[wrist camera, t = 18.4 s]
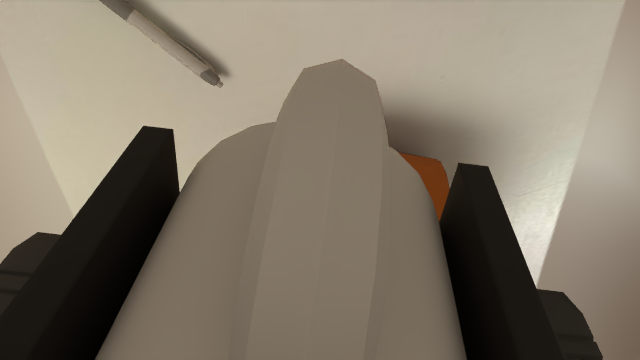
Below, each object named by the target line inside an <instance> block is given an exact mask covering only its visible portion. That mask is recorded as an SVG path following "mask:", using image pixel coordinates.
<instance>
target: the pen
mask: <svg viewBox="0 0 640 360" xmlns="http://www.w3.org/2000/svg"><path fill="white" fill-rule="evenodd" d="M99 1H101V2H102V3H103V4H105V5H106V6H107V7H109V8H110V9H111V10H112V11H114V12H115V13H116V14H118V15H119V16H120V17H122V18H123V19H124V20H125V21H127V22H128V23H130V24H131V25H133V26H134V27H136V28H137V29H138V30H140V31H141V32H142V33H143V34H145V35H146V36H147V37H149V38H150V39H151V40H153V41H154V42H155V43H156V44H158V45H159V46H160V47H162V48H163V49H164V50H166V51H167V52H168V53H169V54H171V55H172V56H173V57H175V58H176V59H177V60H179V61H180V62H181V63H182V64H184V65H185V66H186V67H188V68H189V69H190V70H192V71H193V72H194V73H196V74H197V75H198V76H199V77H201V78H202V79H203V80H205V81H206V82H208V83H210V84H211V85H214V86H215V85H217V86H218V87H220V88H221V87H222V86H223V83H222V82H221V81H220V78H219V77H218V75H217V74H216V71H215V70H214V69H213V67H212V66H211V65H210V64H209V63H208V62H207V61H206V60H205V59H203V58H202V57H201V56H200V55H198V54H197V53H196V52H194V51H193V50H192V49H190V48H189V47H188V46H186V45H185V44H183V43H182V42H180V41H179V40H177V39H175V38H174V37H172V36H170V35H168V34H166V33H164V32H163V31H161V30H160V29H159V28H157V27H156V26H155V25H154V24H152V23H151V22H150V21H149V20H147V19H146V18H145V17H143V16H142V15H141V14H140V13H139V12H138V11H137V10H135V9H134V8H133V7H132V6H130V5H129V4H128V3H127V2H125V1H124V0H99ZM175 41H176V42H175ZM178 43H179V44H180V45H179V44H178ZM181 45H182V46H183V47H185V48H186V49H187V50H189V51H190V52H191V53H192V54H194V55H195V56H196V57H197V58H198V59H197V58H196V57H195V56H193V55H192V54H191V53H189V52H188V51H187V50H186V49H184V48H183V47H182V46H181Z"/></svg>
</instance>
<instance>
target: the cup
mask: <svg viewBox="0 0 640 360" xmlns="http://www.w3.org/2000/svg"><path fill="white" fill-rule="evenodd" d="M95 360H467V357H466V352H465V347H464V343H463V338H462V333H461V328H460V323H459V318H458V313H457V308H456V304H455V299H454V294H453V289H452V284H451V279H450V274H449V270H448V265H447V260H446V255H445V250H444V245H443V240H442V236H441V231H440V226H439V221H438V216H437V213H436V210H435V207H434V204H433V200H432V198H431V196H430V194H429V192H428V190H427V189H426V187H425V185H424V183H423V181H422V179H421V177H420V175H419V173H418V172H417V171H416V170H415V169H414V168H413V167H412V166H411V165H410V164H409V163H408V162H407V161H406V160H405V159H404V158H403V157H402V156H401V155H400V154H399V153H398V152H397V151H396V150H395V149H393V148H391V147H389V144H388V134H387V129H386V124H385V119H384V114H383V109H382V104H381V99H380V95H379V91H378V88H377V84H376V81H375V80H374V79H372V78H371V77H369V76H368V75H366V74H365V73H363V72H362V71H360V70H358V69H357V68H355V67H354V66H352V65H351V64H349V63H348V62H346V61H345V60H343V59H341V60H336V61H332V62H328V63H324V64H320V65H316V66H312V67H308V68H304V69H303V71H302V73H301V74H300V76H299V78H298V79H297V81H296V82H295V84H294V86H293V87H292V89H291V91H290V92H289V94H288V96H287V97H286V99H285V101H284V103H283V105H282V108H281V110H280V113H279V115H278V118H277V122H272V123H266V124H261V125H256V126H251V127H249V128H247V129H245V130H243V131H241V132H239V133H237V134H235V135H233V136H230V137H228V138H226V139H224V140H222V141H220V142H219V143H218V144H217V145H216V146H215V147H214V148H213V149H212V150H211V151H210V152H208V153H207V154H206V155H205V156H204V157H203V158H202V159H201V160H200V161H199V162H198V163H197V165H196V166H195V168H194V169H193V171H192V172H191V174H190V175H189V177H188V179H187V181H186V183H185V185H184V186H183V188H182V190H181V192H180V194H179V196H178V198H177V200H176V201H175V203H174V205H173V207H172V209H171V211H170V213H169V215H168V217H167V219H166V221H165V223H164V225H163V227H162V229H161V231H160V233H159V235H158V237H157V239H156V241H155V243H154V245H153V246H152V248H151V250H150V252H149V254H148V256H147V258H146V260H145V262H144V264H143V266H142V268H141V270H140V272H139V274H138V276H137V278H136V280H135V282H134V284H133V286H132V288H131V290H130V292H129V294H128V295H127V297H126V299H125V301H124V303H123V305H122V307H121V309H120V311H119V313H118V315H117V317H116V319H115V321H114V323H113V325H112V327H111V329H110V331H109V333H108V335H107V337H106V339H105V341H104V342H103V344H102V346H101V348H100V350H99V352H98V354H97V356H96V358H95Z"/></svg>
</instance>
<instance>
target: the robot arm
mask: <svg viewBox="0 0 640 360" xmlns="http://www.w3.org/2000/svg"><path fill="white" fill-rule="evenodd" d="M179 194H180V191H179V182H178V172H177V162H176V152H175V143H174V133H173V129H166V128H158V127H149V126H143V127H142V128H141V130H140V131H139V132H138V134H137V135H136V136H135V138H134V139H133V140H132V142H131V143H130V144H129V146H128V147H127V148H126V150H125V151H124V152H123V154H122V155H121V156H120V158H119V159H118V160H117V162H116V163H115V164H114V166H113V167H112V168H111V170H110V171H109V172H108V174H107V175H106V176H105V178H104V179H103V180H102V182H101V183H100V184H99V186H98V187H97V188H96V190H95V191H94V192H93V194H92V195H91V196H90V198H89V199H88V200H87V202H86V203H85V204H84V206H83V207H82V208H81V210H80V211H79V212H78V214H77V215H76V216H75V218H74V219H73V220H72V222H71V223H70V224H69V226H68V227H67V228H66V230H65V231H64V232H63V234H62V235H57V234H49V233H41V232H37V233H36V234H34V235H33V236H31V237H30V238H28V239H27V240H26V241H24V242H23V243H21V244H19V245H18V246H16V247H15V248H13V250H12V251H11V252H10V253H9V254H8V255H7V257H6V258H5V259H4V260H3V261H2V263H1V264H0V360H95V358H96V356H97V354H98V352H99V350H100V348H101V346H102V344H103V342H104V341H105V339H106V337H107V335H108V333H109V331H110V329H111V327H112V325H113V323H114V321H115V319H116V317H117V315H118V313H119V311H120V309H121V307H122V305H123V303H124V301H125V299H126V297H127V295H128V294H129V292H130V290H131V288H132V286H133V284H134V282H135V280H136V278H137V276H138V274H139V272H140V270H141V268H142V266H143V264H144V262H145V260H146V258H147V256H148V254H149V252H150V250H151V248H152V246H153V245H154V243H155V241H156V239H157V237H158V235H159V233H160V231H161V229H162V227H163V225H164V223H165V221H166V219H167V217H168V215H169V213H170V211H171V209H172V207H173V205H174V203H175V201H176V200H177V198H178V196H179ZM439 226H440V231H441V236H442V240H443V245H444V250H445V255H446V260H447V265H448V270H449V274H450V279H451V284H452V289H453V294H454V299H455V304H456V308H457V313H458V318H459V323H460V328H461V333H462V338H463V343H464V347H465V352H466V357H467V360H602V358H603V356H602V354H601V352H600V350H599V348H598V346H597V343H596V342H594V341H593V335H592V333H591V331H590V329H589V326H588V324H587V322H586V320H585V318H584V316H583V314H582V313H581V312H580V310H579V309H578V308H577V307H576V306H575V305H574V304H573V303H572V302H571V301H570V300H569V298H568V297H567V296H566V295H565V294H564V293H563V292H557V291H549V290H540V289H536V286H535V284H534V281H533V279H532V276H531V274H530V271H529V269H528V266H527V264H526V261H525V259H524V256H523V254H522V251H521V248H520V246H519V243H518V241H517V238H516V236H515V233H514V231H513V228H512V226H511V223H510V221H509V218H508V215H507V213H506V210H505V208H504V205H503V203H502V200H501V198H500V195H499V193H498V190H497V188H496V185H495V183H494V180H493V177H492V175H491V172H490V170H489V167H488V166H481V165H472V164H464V163H458V166H457V169H456V172H455V175H454V178H453V181H452V184H451V187H450V190H449V193H448V196H447V199H446V202H445V205H444V209H443V212H442V215H441V218H440V221H439Z"/></svg>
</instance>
